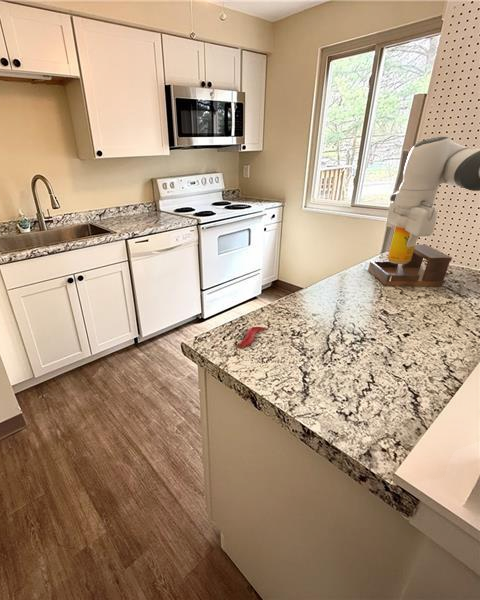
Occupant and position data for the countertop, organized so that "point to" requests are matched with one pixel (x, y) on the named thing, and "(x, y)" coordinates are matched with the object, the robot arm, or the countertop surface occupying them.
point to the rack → (413, 269)
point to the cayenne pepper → (250, 336)
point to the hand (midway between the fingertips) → (403, 243)
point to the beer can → (400, 243)
